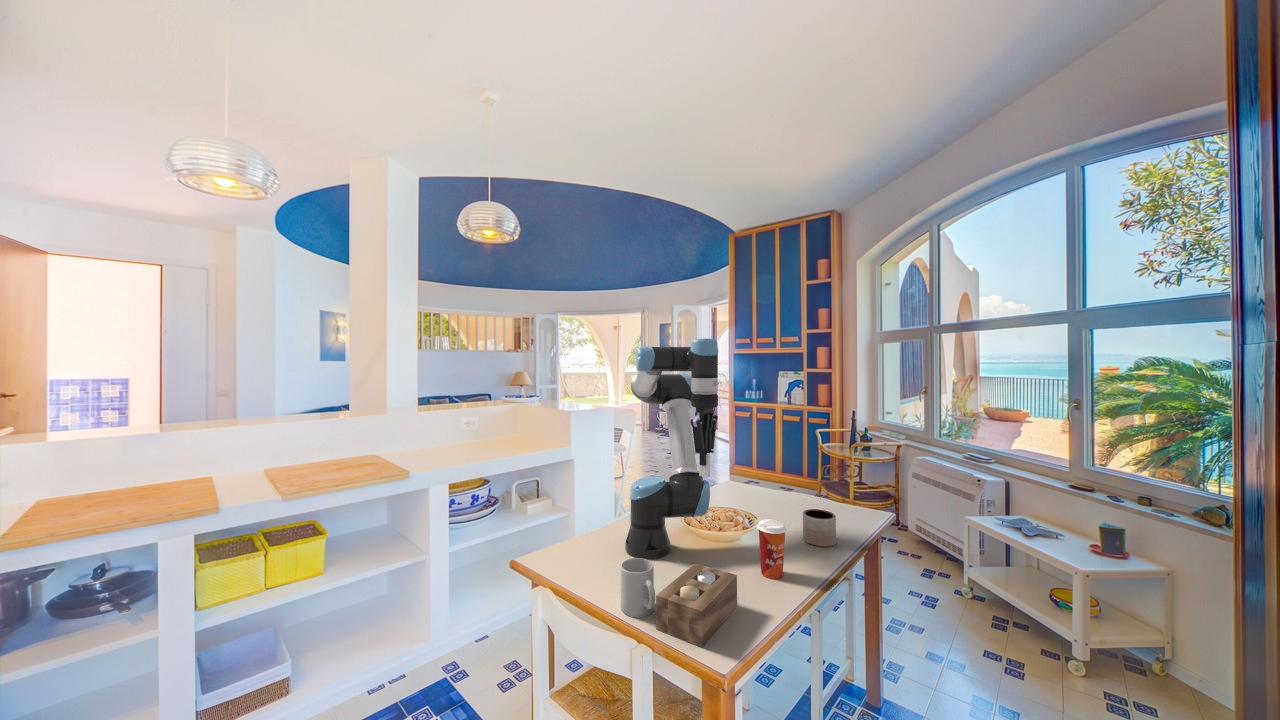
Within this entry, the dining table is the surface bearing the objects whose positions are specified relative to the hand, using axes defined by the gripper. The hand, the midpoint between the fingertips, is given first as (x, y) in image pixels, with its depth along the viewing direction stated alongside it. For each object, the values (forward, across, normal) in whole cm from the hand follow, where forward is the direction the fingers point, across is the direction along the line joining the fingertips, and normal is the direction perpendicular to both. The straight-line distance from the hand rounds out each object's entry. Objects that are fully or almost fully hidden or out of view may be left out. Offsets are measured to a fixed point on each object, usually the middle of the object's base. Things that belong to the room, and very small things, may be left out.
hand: (704, 476), depth 126 cm
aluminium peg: (+30, -12, -6) cm, 33 cm away
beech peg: (+30, -20, -6) cm, 37 cm away
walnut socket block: (+30, -16, -6) cm, 35 cm away
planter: (+31, +49, -20) cm, 61 cm away
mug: (+31, -22, +7) cm, 38 cm away
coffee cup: (+31, +16, -14) cm, 37 cm away
